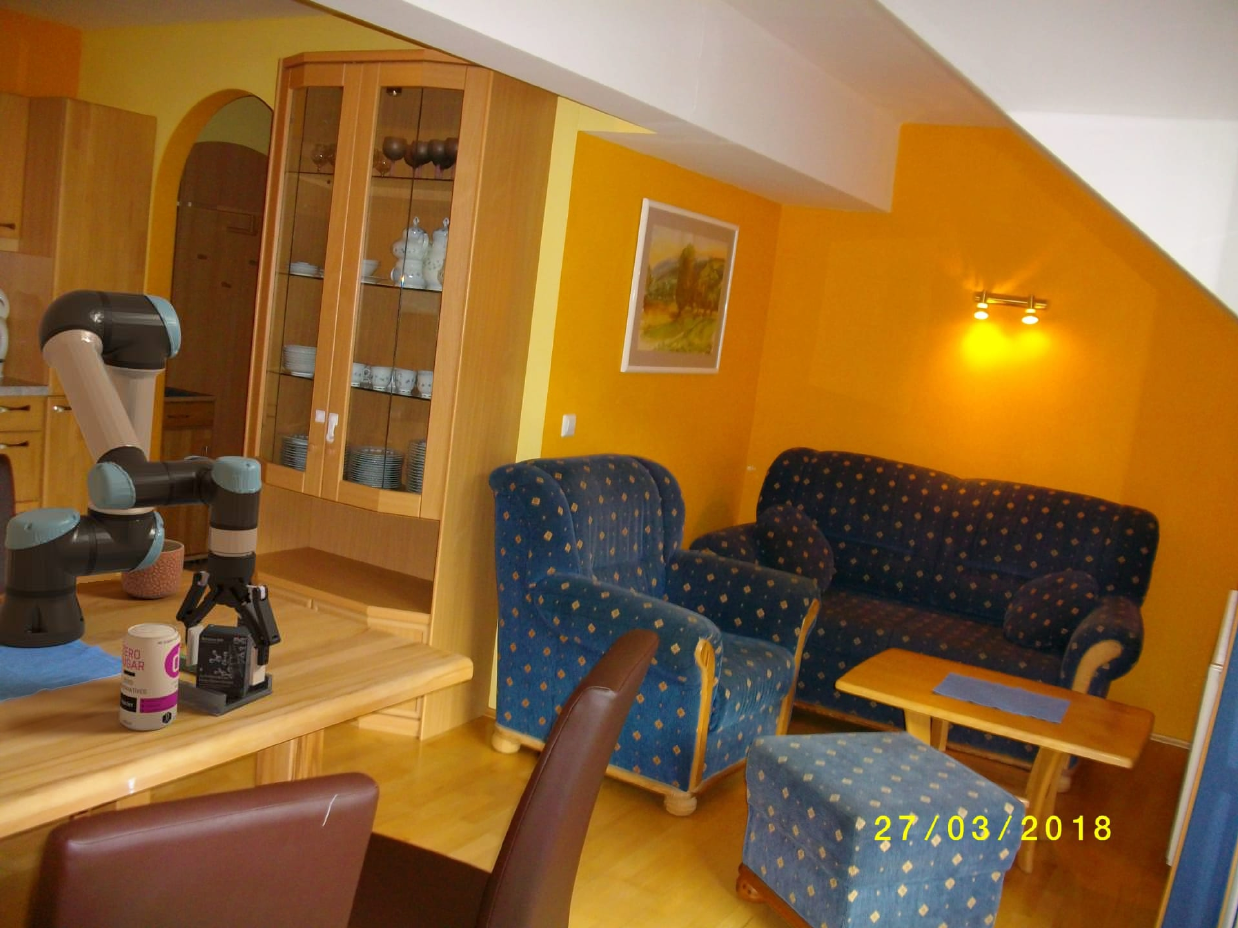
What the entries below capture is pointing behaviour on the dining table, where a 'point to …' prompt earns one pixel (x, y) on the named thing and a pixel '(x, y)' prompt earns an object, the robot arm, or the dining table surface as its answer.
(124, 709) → the supplement can
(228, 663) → the box
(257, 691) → the keeper
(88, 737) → the dining table surface
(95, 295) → the robot arm
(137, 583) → the planter
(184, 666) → the green bar
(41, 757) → the dining table surface
